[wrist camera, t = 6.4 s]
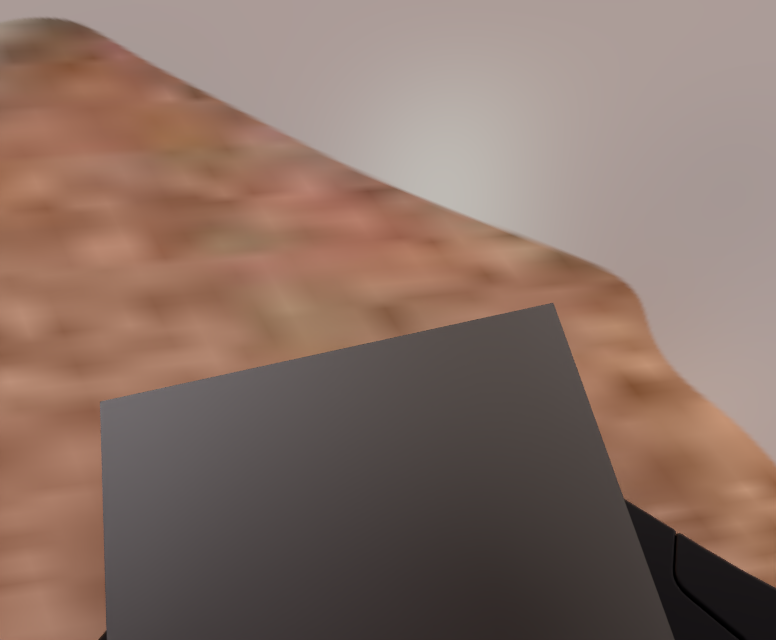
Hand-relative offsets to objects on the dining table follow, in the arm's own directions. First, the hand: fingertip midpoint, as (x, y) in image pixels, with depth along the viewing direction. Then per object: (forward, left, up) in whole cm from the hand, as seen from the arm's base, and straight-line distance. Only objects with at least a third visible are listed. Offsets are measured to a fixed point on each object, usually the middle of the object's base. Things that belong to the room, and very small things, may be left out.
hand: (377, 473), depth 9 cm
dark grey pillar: (0, -1, -7) cm, 7 cm away
